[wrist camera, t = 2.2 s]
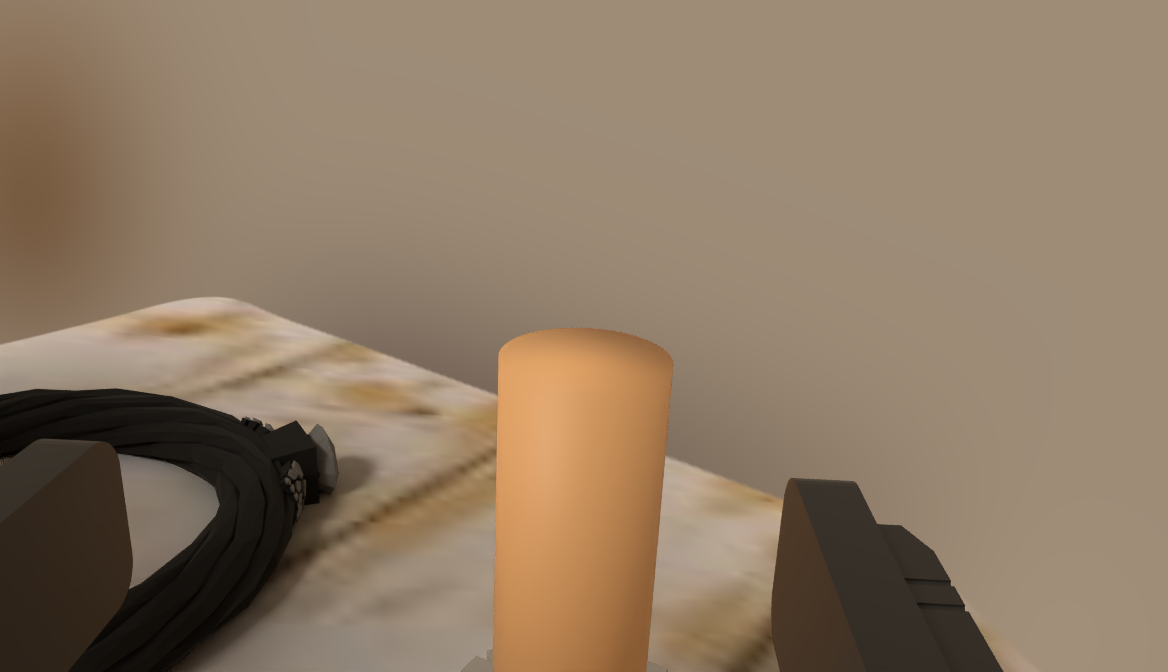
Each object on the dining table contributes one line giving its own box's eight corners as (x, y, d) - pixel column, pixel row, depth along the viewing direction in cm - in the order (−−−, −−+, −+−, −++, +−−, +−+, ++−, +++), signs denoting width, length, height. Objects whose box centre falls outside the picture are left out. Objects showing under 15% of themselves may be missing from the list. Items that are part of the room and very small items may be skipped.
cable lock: (-375, 435, 45) (261, 342, 61) (-351, 504, 47) (265, 396, 62) (-675, 873, 24) (434, 555, 39) (-614, 980, 25) (435, 632, 40)
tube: (507, 915, 27) (522, 399, 21) (477, 794, 31) (482, 332, 25) (651, 879, 28) (701, 384, 22) (604, 768, 32) (637, 323, 26)
